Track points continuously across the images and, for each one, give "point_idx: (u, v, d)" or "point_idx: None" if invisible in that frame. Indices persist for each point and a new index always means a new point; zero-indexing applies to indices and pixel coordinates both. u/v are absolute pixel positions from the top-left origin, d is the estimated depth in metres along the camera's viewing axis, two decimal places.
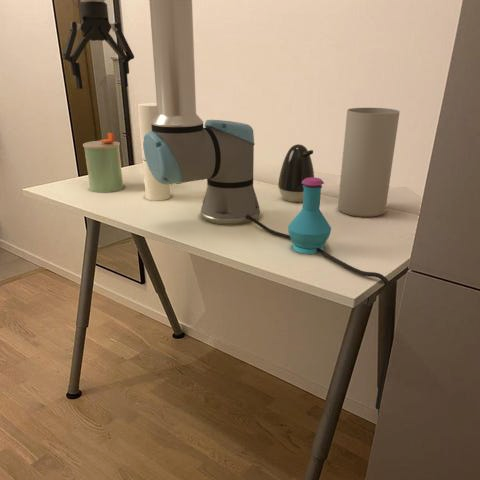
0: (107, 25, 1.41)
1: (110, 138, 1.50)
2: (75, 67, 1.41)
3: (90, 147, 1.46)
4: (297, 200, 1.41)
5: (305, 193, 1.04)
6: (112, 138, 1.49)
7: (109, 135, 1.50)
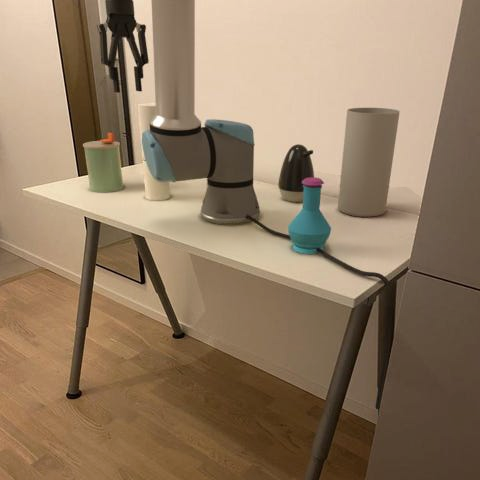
0: (133, 22, 1.40)
1: (110, 138, 1.50)
2: (113, 71, 1.43)
3: (90, 147, 1.46)
4: (297, 200, 1.41)
5: (305, 193, 1.04)
6: (112, 138, 1.49)
7: (109, 135, 1.50)
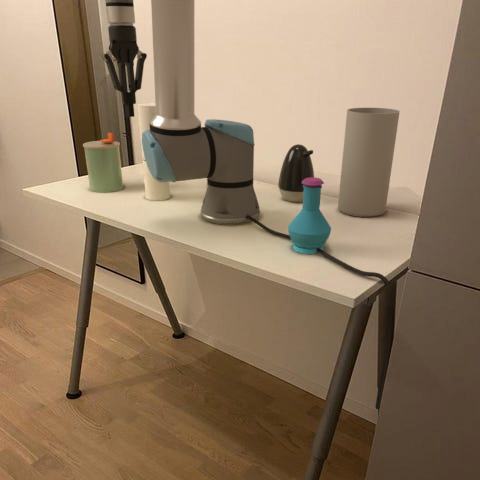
0: (135, 48, 1.43)
1: (110, 138, 1.50)
2: (126, 97, 1.48)
3: (90, 147, 1.46)
4: (297, 200, 1.41)
5: (305, 193, 1.04)
6: (112, 138, 1.49)
7: (109, 135, 1.50)
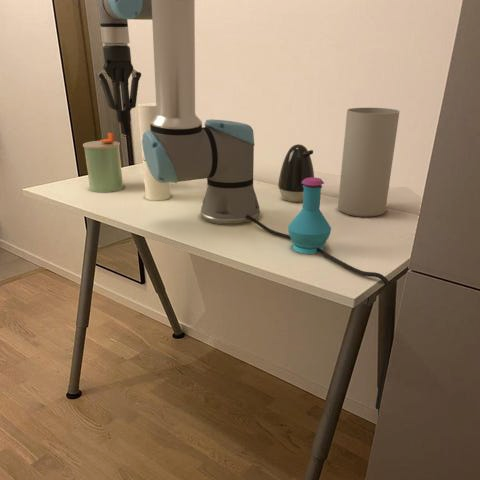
0: (130, 67, 1.44)
1: (110, 138, 1.50)
2: (121, 115, 1.49)
3: (90, 147, 1.46)
4: (297, 200, 1.41)
5: (305, 193, 1.04)
6: (112, 138, 1.49)
7: (109, 135, 1.50)
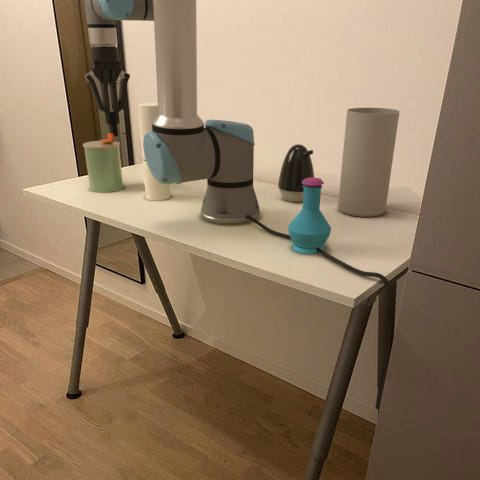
0: (118, 68, 1.43)
1: (110, 138, 1.50)
2: (109, 117, 1.47)
3: (90, 147, 1.46)
4: (297, 200, 1.41)
5: (305, 193, 1.04)
6: (112, 138, 1.49)
7: (109, 135, 1.50)
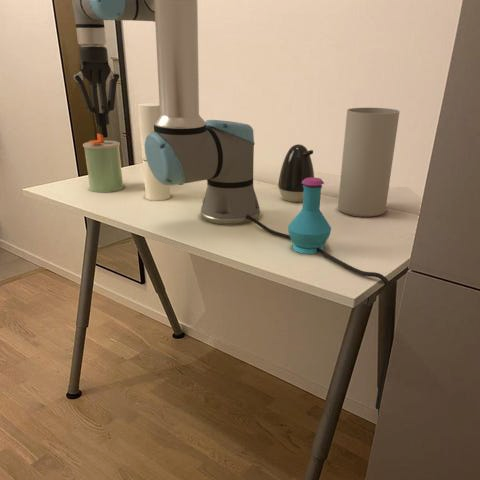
0: (107, 69, 1.41)
1: (99, 139, 1.49)
2: (98, 117, 1.46)
3: (90, 147, 1.46)
4: (297, 200, 1.41)
5: (305, 193, 1.04)
6: (101, 139, 1.48)
7: (98, 136, 1.49)
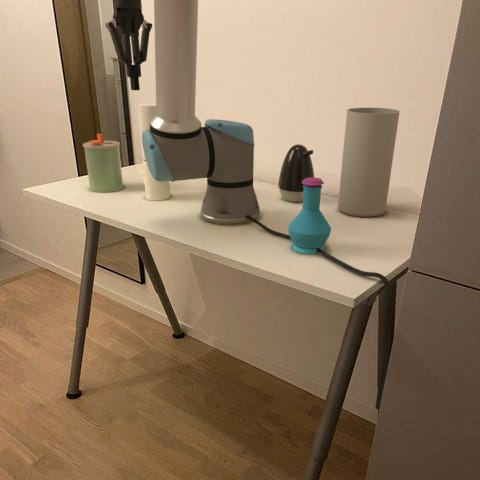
0: (141, 17, 1.37)
1: (99, 139, 1.49)
2: (131, 69, 1.41)
3: (90, 147, 1.46)
4: (297, 200, 1.41)
5: (305, 193, 1.04)
6: (101, 139, 1.48)
7: (98, 136, 1.49)
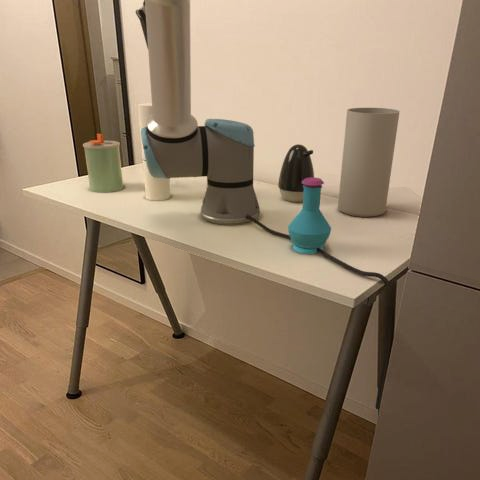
0: None
1: (99, 139, 1.49)
2: None
3: (90, 147, 1.46)
4: (297, 200, 1.41)
5: (305, 193, 1.04)
6: (101, 139, 1.48)
7: (98, 136, 1.49)
